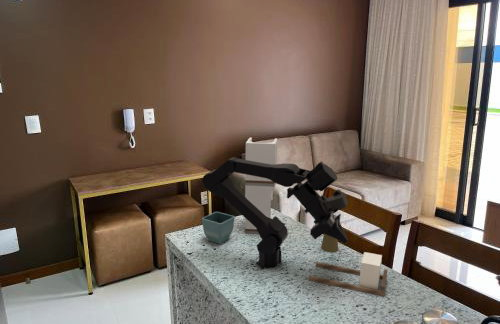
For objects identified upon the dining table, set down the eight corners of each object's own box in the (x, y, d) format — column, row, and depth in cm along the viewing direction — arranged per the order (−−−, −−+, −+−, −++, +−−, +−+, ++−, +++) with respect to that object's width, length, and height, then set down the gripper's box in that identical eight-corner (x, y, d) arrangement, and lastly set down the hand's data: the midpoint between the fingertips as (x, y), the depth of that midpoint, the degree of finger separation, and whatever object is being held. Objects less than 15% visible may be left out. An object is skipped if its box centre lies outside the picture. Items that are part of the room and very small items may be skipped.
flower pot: (235, 238, 144) (235, 216, 142) (221, 247, 137) (221, 223, 135) (216, 233, 149) (216, 211, 147) (201, 241, 141) (201, 218, 139)
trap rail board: (305, 287, 112) (306, 276, 112) (318, 262, 127) (319, 252, 126) (382, 304, 105) (383, 292, 104) (387, 276, 119) (388, 265, 118)
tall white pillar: (273, 235, 147) (275, 143, 139) (245, 233, 149) (245, 142, 140) (275, 223, 158) (277, 138, 150) (248, 222, 160) (249, 137, 151)
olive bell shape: (338, 255, 132) (340, 224, 130) (320, 253, 133) (322, 223, 131) (338, 247, 138) (340, 218, 135) (320, 245, 139) (322, 216, 137)
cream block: (359, 288, 111) (361, 262, 109) (362, 276, 117) (364, 252, 115) (377, 292, 109) (379, 266, 107) (379, 280, 115) (382, 255, 114)
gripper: (324, 193, 103) (364, 239, 101) (337, 175, 119) (372, 215, 118) (294, 217, 108) (332, 261, 106) (311, 196, 124) (344, 234, 123)
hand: (346, 241), depth 113 cm, fingers closed
